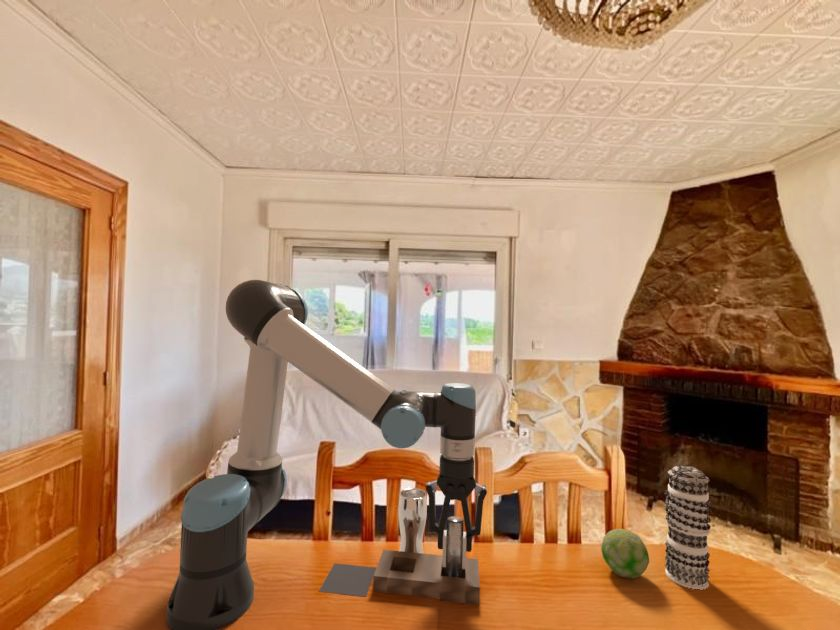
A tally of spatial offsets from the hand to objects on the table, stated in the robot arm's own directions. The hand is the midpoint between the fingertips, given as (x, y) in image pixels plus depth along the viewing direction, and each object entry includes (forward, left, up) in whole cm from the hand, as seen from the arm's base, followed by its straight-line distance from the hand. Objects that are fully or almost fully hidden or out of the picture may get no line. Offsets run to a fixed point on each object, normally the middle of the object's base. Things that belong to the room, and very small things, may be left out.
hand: (454, 564), depth 87 cm
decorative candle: (+53, +12, -5) cm, 55 cm away
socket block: (-6, 0, -5) cm, 7 cm away
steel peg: (0, 0, -3) cm, 3 cm away
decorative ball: (+39, +11, -5) cm, 41 cm away
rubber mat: (-23, -2, -5) cm, 23 cm away
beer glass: (-11, +10, -5) cm, 15 cm away
